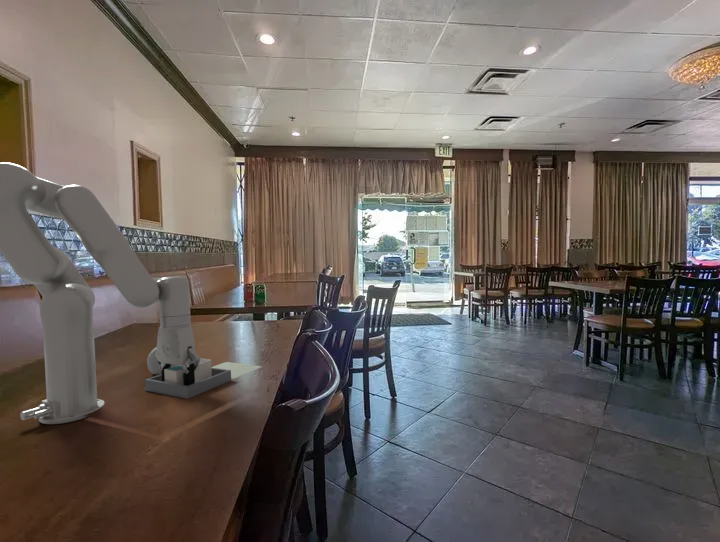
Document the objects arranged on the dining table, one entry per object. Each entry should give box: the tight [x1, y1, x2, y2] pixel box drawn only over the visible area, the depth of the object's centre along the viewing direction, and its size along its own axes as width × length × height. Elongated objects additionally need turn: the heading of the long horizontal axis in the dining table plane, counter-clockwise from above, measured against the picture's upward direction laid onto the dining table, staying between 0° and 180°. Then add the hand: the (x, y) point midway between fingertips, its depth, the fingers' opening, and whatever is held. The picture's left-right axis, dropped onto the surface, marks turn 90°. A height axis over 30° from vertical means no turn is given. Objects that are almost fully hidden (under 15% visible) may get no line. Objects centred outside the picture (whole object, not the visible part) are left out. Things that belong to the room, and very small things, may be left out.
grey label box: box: [187, 357, 213, 383], centre depth 107 cm, size 5×5×6 cm
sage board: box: [212, 361, 262, 380], centre depth 118 cm, size 13×16×1 cm
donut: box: [146, 346, 177, 376], centre depth 117 cm, size 10×4×10 cm, turn 143°
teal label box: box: [164, 365, 189, 385], centre depth 101 cm, size 5×5×6 cm
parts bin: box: [144, 368, 232, 400], centre depth 104 cm, size 15×17×4 cm
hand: (178, 383), depth 101 cm, fingers open, 7 cm apart
